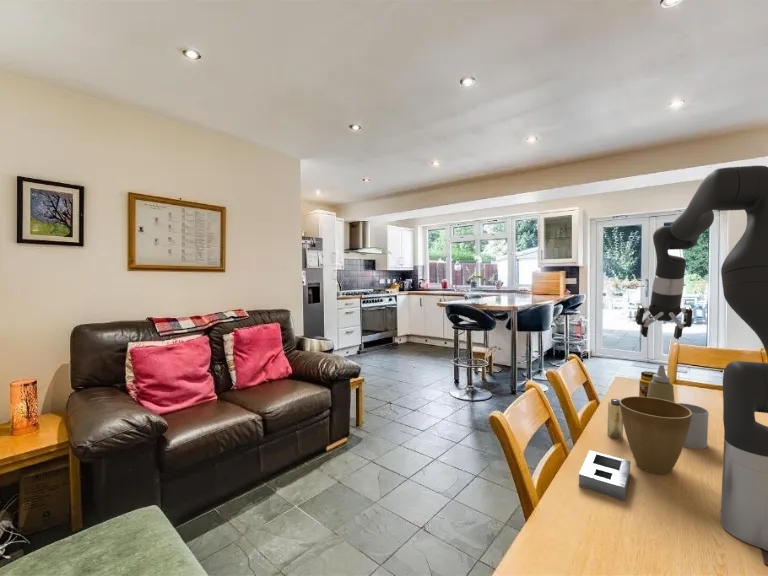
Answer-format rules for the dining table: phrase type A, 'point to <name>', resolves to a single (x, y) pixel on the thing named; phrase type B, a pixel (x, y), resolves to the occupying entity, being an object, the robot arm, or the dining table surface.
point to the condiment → (645, 383)
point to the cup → (697, 427)
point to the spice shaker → (615, 420)
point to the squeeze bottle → (661, 386)
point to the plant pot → (655, 431)
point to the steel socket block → (605, 474)
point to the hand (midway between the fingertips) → (660, 337)
